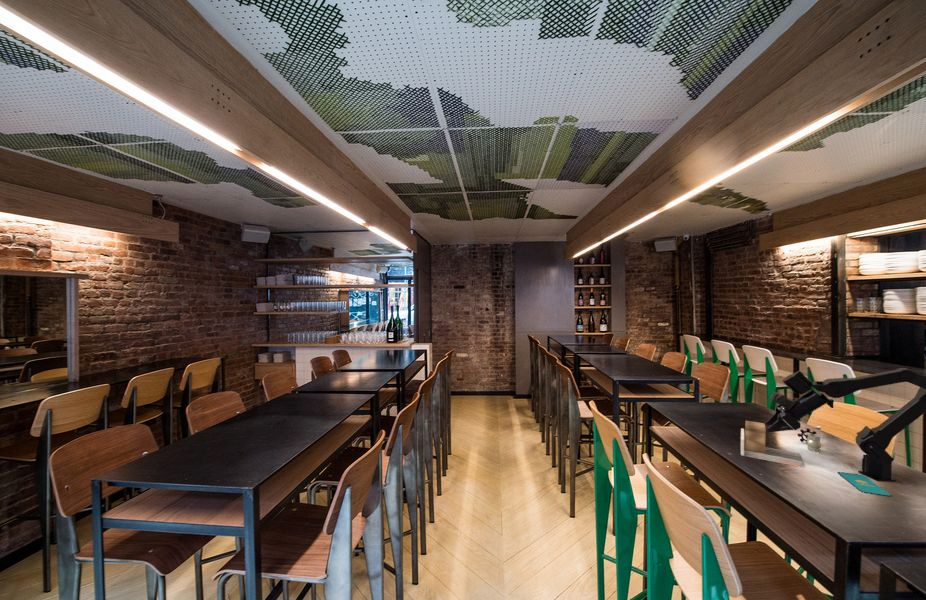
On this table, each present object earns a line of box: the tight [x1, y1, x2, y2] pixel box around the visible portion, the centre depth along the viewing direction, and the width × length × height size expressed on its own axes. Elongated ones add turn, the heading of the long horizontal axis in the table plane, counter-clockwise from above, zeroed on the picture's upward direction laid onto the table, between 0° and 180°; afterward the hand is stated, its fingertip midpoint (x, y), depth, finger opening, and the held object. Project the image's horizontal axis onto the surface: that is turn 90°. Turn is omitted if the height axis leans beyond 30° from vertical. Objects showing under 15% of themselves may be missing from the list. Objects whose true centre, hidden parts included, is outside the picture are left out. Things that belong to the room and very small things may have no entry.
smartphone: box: [837, 471, 892, 498], centre depth 127 cm, size 7×1×15 cm
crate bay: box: [740, 428, 806, 468], centre depth 149 cm, size 18×15×7 cm
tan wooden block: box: [744, 420, 767, 454], centre depth 151 cm, size 6×6×10 cm
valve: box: [797, 427, 822, 455], centre depth 157 cm, size 7×7×12 cm
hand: (767, 427), depth 149 cm, fingers open, 9 cm apart
